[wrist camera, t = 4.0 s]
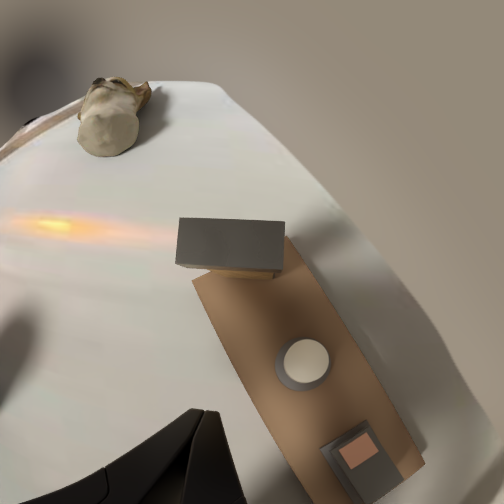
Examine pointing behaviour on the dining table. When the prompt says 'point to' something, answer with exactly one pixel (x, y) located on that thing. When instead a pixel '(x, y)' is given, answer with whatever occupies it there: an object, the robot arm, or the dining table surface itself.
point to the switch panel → (304, 394)
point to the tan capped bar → (232, 247)
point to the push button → (306, 361)
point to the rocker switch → (366, 465)
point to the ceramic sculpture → (111, 116)
